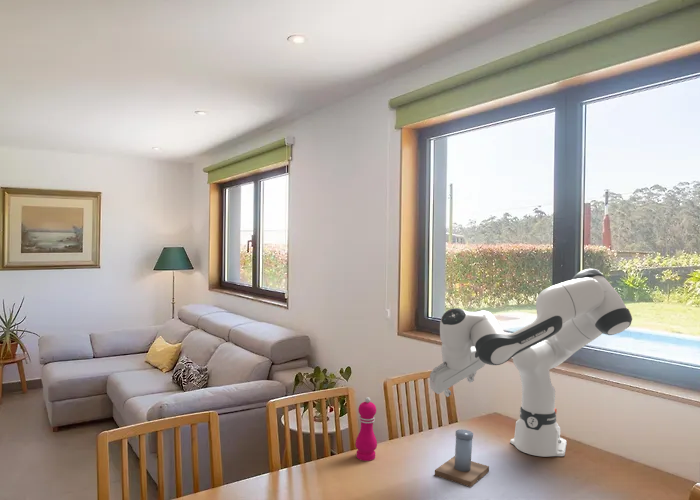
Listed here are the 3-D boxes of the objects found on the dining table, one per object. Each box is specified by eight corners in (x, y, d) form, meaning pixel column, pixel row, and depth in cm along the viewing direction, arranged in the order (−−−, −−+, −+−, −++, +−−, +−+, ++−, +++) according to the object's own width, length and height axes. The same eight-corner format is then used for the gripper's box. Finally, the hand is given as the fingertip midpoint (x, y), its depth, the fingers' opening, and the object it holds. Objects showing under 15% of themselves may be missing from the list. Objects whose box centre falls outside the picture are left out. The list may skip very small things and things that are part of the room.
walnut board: (454, 460, 171) (454, 456, 171) (489, 471, 164) (489, 466, 164) (434, 475, 160) (434, 470, 160) (470, 487, 153) (471, 481, 153)
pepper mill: (374, 462, 168) (376, 401, 168) (353, 460, 169) (355, 399, 169) (378, 454, 175) (380, 395, 175) (357, 451, 176) (359, 393, 176)
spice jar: (458, 462, 166) (459, 428, 166) (474, 467, 163) (475, 432, 162) (450, 468, 162) (452, 432, 161) (467, 473, 158) (469, 437, 158)
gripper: (436, 377, 152) (440, 409, 159) (488, 346, 160) (489, 378, 167) (423, 365, 157) (427, 397, 164) (474, 336, 165) (476, 367, 172)
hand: (459, 387), depth 166 cm, fingers open, 8 cm apart
